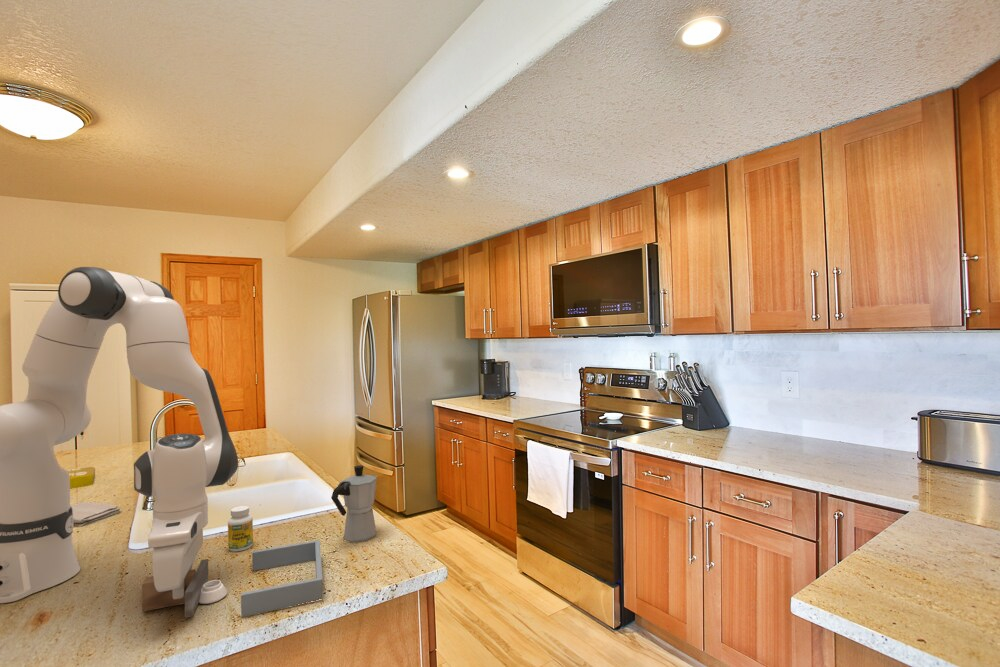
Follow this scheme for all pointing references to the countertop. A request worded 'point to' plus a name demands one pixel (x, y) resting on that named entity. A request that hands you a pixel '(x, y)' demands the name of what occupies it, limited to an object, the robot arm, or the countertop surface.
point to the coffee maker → (357, 505)
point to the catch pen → (284, 593)
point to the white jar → (212, 592)
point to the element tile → (81, 477)
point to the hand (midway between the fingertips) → (182, 591)
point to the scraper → (165, 598)
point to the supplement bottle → (240, 529)
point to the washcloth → (92, 512)
